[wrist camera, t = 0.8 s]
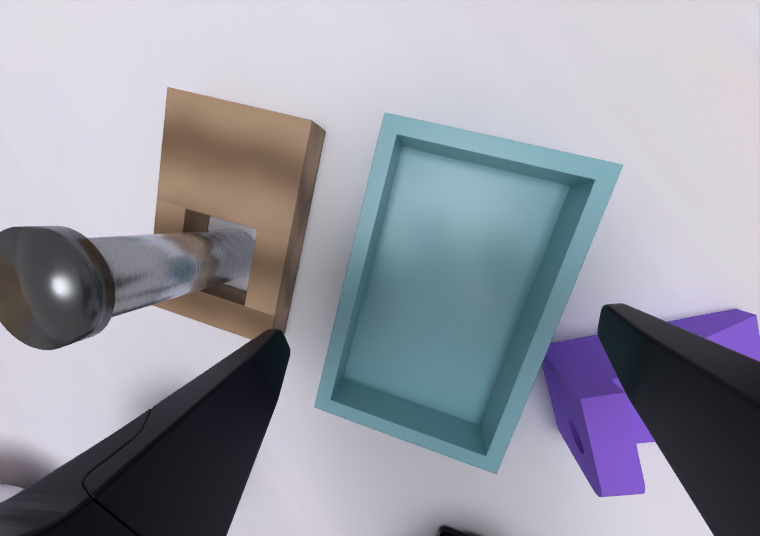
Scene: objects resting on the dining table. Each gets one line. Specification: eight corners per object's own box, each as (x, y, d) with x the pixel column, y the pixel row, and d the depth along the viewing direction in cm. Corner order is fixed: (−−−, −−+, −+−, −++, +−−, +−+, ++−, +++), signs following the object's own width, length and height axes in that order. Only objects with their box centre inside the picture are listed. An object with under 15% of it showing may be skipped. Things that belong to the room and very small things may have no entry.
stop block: (284, 333, 25) (268, 345, 23) (173, 295, 27) (147, 303, 24) (325, 131, 22) (311, 120, 19) (195, 100, 23) (167, 86, 21)
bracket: (556, 426, 23) (606, 513, 16) (536, 344, 22) (580, 399, 15) (747, 402, 20) (902, 494, 13) (731, 307, 19) (886, 354, 13)
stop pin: (259, 291, 25) (81, 366, 12) (205, 274, 26) (-16, 328, 13) (270, 231, 24) (86, 246, 11) (213, 215, 25) (-20, 212, 12)
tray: (486, 431, 23) (496, 474, 19) (332, 377, 25) (314, 407, 21) (585, 175, 19) (623, 164, 15) (393, 131, 21) (384, 112, 17)
